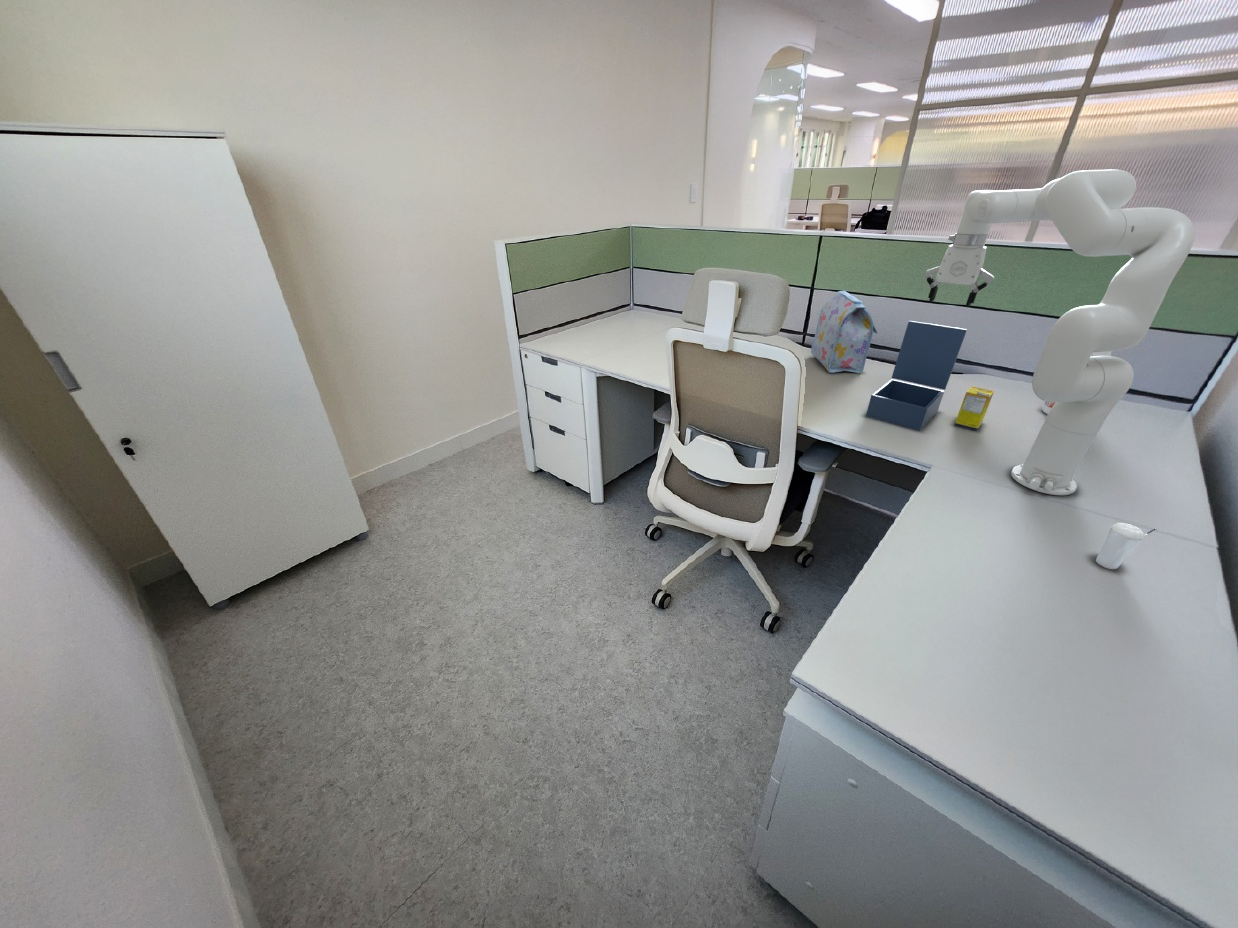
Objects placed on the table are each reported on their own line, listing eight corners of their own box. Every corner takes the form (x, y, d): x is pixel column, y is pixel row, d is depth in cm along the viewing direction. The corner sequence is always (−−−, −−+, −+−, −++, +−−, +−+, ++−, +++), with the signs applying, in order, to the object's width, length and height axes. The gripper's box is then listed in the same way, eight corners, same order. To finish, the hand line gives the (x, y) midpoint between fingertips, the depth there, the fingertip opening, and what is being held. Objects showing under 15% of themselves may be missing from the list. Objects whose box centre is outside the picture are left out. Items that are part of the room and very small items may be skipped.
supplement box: (981, 424, 145) (994, 390, 139) (976, 431, 141) (990, 396, 135) (958, 418, 148) (971, 385, 143) (953, 425, 144) (966, 391, 139)
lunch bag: (871, 374, 182) (889, 302, 168) (826, 375, 182) (841, 303, 169) (847, 355, 201) (862, 289, 187) (807, 355, 202) (819, 290, 188)
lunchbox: (919, 431, 142) (927, 408, 138) (865, 416, 151) (871, 395, 148) (937, 412, 152) (944, 390, 149) (885, 399, 162) (891, 379, 158)
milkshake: (1130, 576, 90) (1159, 535, 85) (1093, 566, 93) (1119, 526, 88) (1124, 562, 94) (1152, 521, 88) (1089, 553, 96) (1114, 513, 91)
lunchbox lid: (966, 329, 139) (970, 327, 143) (908, 321, 149) (913, 318, 152) (944, 389, 148) (949, 386, 152) (891, 378, 158) (896, 374, 161)
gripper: (931, 240, 137) (913, 301, 146) (1003, 244, 127) (980, 310, 136) (939, 237, 142) (921, 297, 151) (1009, 241, 132) (986, 305, 140)
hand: (949, 303), depth 143 cm, fingers open, 9 cm apart
